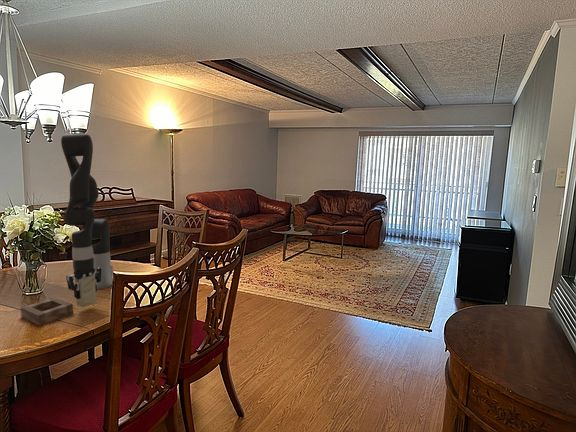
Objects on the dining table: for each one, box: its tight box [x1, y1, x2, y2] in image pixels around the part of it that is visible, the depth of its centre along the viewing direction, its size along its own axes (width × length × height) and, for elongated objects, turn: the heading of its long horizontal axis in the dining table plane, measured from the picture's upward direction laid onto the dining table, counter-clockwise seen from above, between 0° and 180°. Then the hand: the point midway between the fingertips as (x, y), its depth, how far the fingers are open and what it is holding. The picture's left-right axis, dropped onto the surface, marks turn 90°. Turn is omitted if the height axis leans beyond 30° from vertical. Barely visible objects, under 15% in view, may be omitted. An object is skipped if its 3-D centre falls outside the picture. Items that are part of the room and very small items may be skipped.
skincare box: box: [74, 275, 97, 308], centre depth 157 cm, size 6×4×12 cm
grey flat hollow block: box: [20, 297, 74, 326], centre depth 152 cm, size 13×13×4 cm
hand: (86, 295), depth 157 cm, fingers closed on skincare box, 6 cm apart
